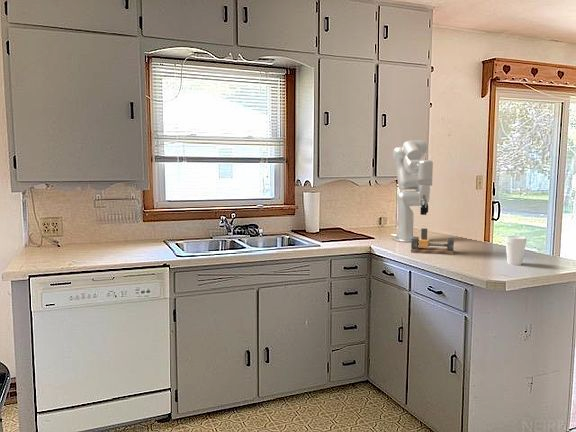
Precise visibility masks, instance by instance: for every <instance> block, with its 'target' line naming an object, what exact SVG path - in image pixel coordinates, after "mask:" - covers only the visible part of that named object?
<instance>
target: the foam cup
mask: <svg viewBox="0 0 576 432" xmlns="http://www.w3.org/2000/svg"><path fill="white" fill-rule="evenodd" d="M504 243H505V251H506V252H505V253H506V260H507V264H508V265H511V264H512V265H511V266H521V264H522V265H523V260H524V253H525V249H526V244H527V237H526V236H521V235H507V236H504Z"/></svg>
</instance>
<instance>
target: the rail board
mask: <svg viewBox="0 0 576 432" xmlns="http://www.w3.org/2000/svg"><path fill="white" fill-rule="evenodd" d="M419 239H420V238H419V236H413V237H412V239H411V242H410V243H411V246H410V247H411V248H410V253H413V254H414V253H415V254H429V255H430V254H432V255H433V254H435V255H447V256H448V255H454V251H455V250H454V246H455V245H454V244H455V243H454V241H455V240H454V239H455V238H454V237H448V238H447V240H446V241H447V243H437V242H429V243H428V248H419Z"/></svg>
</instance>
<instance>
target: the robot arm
mask: <svg viewBox="0 0 576 432" xmlns="http://www.w3.org/2000/svg"><path fill="white" fill-rule="evenodd" d="M427 151H428V144H427V142H426V141H425V140H423V139H420V140H419V139H418V140H417V139H416V140H415V139H413V140H410V139H409V140H406V141H405V142H404V143H403V144H402V146H397V147H395V148H393V151H392V160H393V163H394V166H395V169H396V177H397V186H398V188H399V189H400V190H402V191H399V192H398V193H397V195H396V202H397V233H390V237H391V238H395V241H396V242H402V243H411V239H412V237H414V217H415V216H414V211H413V210H412V209H411V207H420V215H422V216H427V213H429V202H430V194H431V193H430V192H431V187H432V186H433V170H434V169H433V167H434V166H433V164H434V162H433V160H429V159H422V157H424V156H425V154H426V153H427Z"/></svg>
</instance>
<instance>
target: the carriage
mask: <svg viewBox="0 0 576 432" xmlns="http://www.w3.org/2000/svg"><path fill="white" fill-rule="evenodd" d="M420 232H421V236H420V238H418V243H419V245H418V247H419V248H428V247H429V246H428V243H430V238H428V228H425V227H424V228H421V230H420Z"/></svg>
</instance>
